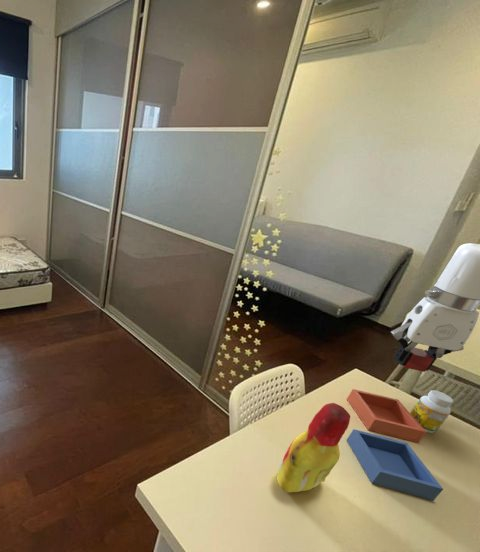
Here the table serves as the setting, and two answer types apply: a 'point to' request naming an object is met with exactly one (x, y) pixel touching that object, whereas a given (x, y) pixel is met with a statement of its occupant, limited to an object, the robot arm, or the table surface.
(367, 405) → the terracotta bin
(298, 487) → the bottle
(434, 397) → the supplement bottle
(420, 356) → the red block
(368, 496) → the table surface
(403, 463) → the blue bin
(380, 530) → the table surface
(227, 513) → the table surface
